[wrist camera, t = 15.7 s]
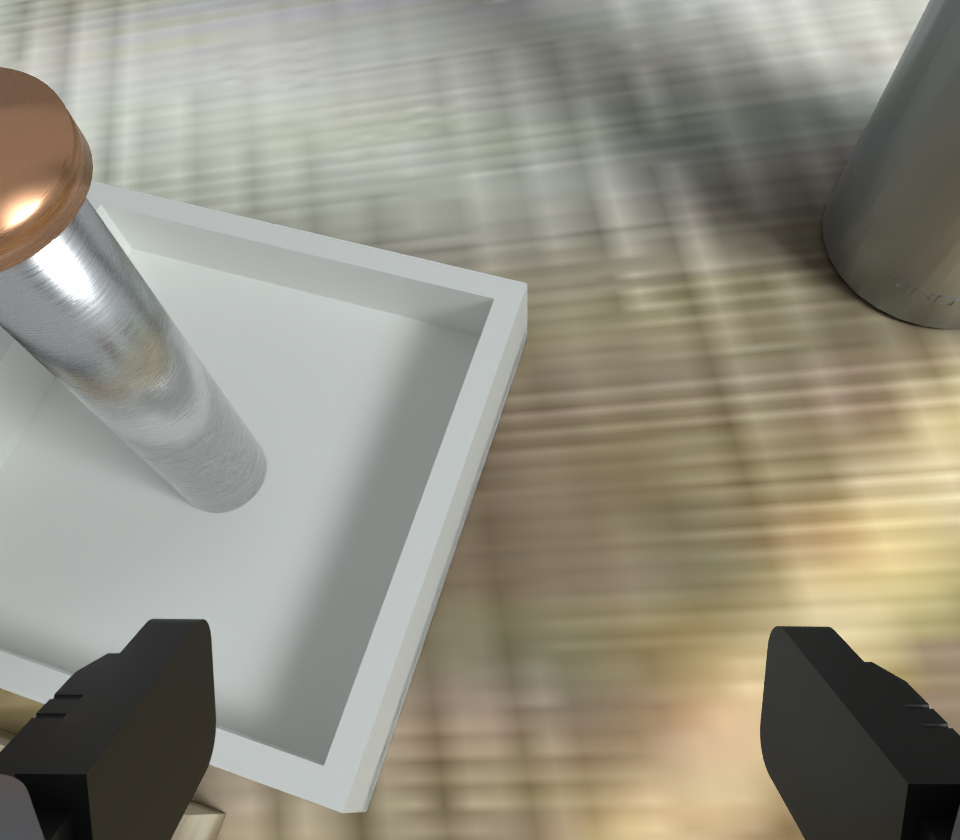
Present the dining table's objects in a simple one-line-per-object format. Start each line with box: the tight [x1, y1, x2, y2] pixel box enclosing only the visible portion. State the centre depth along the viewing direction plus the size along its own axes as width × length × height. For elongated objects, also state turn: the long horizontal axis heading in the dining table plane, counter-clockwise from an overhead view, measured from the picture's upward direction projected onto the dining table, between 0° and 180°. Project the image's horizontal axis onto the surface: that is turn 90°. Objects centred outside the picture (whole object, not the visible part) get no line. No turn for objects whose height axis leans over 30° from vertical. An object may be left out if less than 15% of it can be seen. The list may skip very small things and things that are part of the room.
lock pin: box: [0, 67, 267, 513], centre depth 24 cm, size 5×5×17 cm
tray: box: [0, 181, 527, 813], centre depth 31 cm, size 19×19×4 cm
